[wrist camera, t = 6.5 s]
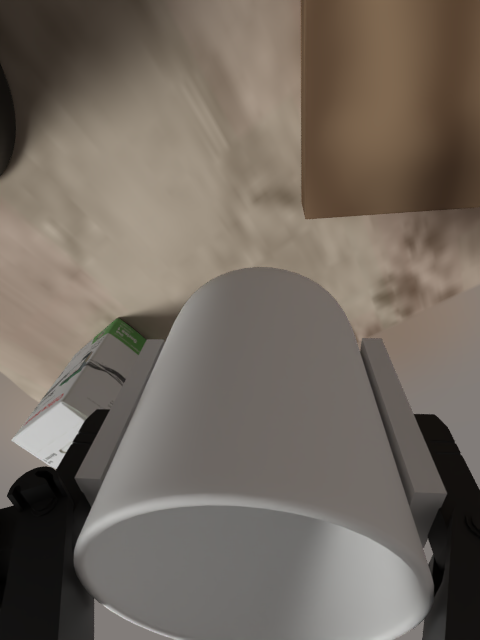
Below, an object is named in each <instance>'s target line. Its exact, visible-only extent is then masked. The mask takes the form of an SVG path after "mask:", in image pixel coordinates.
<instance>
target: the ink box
mask: <svg viewBox="0 0 480 640" xmlns="http://www.w3.org/2000/svg"><path fill="white" fill-rule="evenodd" d="M145 342H146V339H145V338H144V337H142V336H141V335H140V334H139V333H138V332H136V331H135V330H134V329H133V328H131V327H130V326H129V325H127V324H126V323H125V322H123V321H122V320H121V319H119V318H117V319H116V320H115V321H113V322H112V323H111V324H110V325H109V326H107V327H106V328H105V329H104V330H103V331H102V332H101V333H99V334H98V335H97V336H96V337H95V338H94V339H92V340H91V341H90V342H89V343H88V344H87V345H85V346H84V347H83V348H82V349H81V350H80V351H79V352H77V353H76V354H75V355H74V357H73V358H72V360H71V361H70V362H69V364H68V365H67V367H66V368H65V369H64V371H63V372H62V373H61V375H60V376H59V377H58V379H57V380H56V381H55V383H54V384H53V385H52V387H51V388H50V389H49V391H48V392H47V393H46V395H45V396H44V397H43V399H42V400H41V402H40V403H39V404H38V406H37V407H36V408H35V410H34V411H33V412H32V414H31V415H30V416H29V418H28V419H27V421H26V422H25V423H24V424H23V426H22V428H21V429H20V430H19V431H18V433H17V434H16V435H15V436H14V438H13V439H12V441H13V442H14V443H16V444H17V445H19V446H20V447H22V448H24V449H25V450H27V451H28V452H30V453H31V454H33V455H34V456H36V457H37V458H38V459H40V460H42V461H43V462H45V463H46V464H48V465H49V466H51V467H53V468H56V469H57V467H58V466H59V464H60V462H61V461H62V459H63V457H64V455H65V454H66V452H67V450H68V449H69V447H70V445H71V444H72V443H73V440H74V438H75V437H76V435H77V434H78V431H79V430H80V428H81V426H82V425H83V423H84V421H85V420H86V419H87V418H88V417H89V416H90V415H91V414H92V413H93V412H94V411H95V410H96V409H111V407H112V405H113V403H114V401H115V399H116V397H117V396H118V394H119V392H120V390H121V388H122V386H123V384H124V382H125V380H126V378H127V376H128V375H129V373H130V371H131V369H132V367H133V365H134V363H135V361H136V359H137V357H138V355H139V354H140V352H141V350H142V348H143V346H144V344H145Z"/></svg>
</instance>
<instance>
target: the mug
mask: <svg viewBox="0 0 480 640" xmlns="http://www.w3.org/2000/svg"><path fill="white" fill-rule="evenodd" d="M74 568H75V571H76V575H77V577H78V578H79V580H80V582H81V584H82V585H83V586H84V588H85V589H86V590H87V591H88V592H89V594H90V595H92V596H93V597H94V598H95V599H96V600H97V601H98V602H99V603H101V604H102V605H103V606H105V607H106V608H108V609H109V610H110V611H112V612H114V613H115V614H117V615H119V616H120V617H122V618H124V619H126V620H128V621H130V622H132V623H134V624H136V625H138V626H140V627H143V628H145V629H147V630H150V631H153V632H155V633H158V634H160V635H163V636H166V637H169V638H172V639H176V640H394V639H396V638H398V637H401V636H402V635H404V634H406V633H408V632H409V631H411V630H412V629H414V628H415V627H416V626H417V625H418V624H420V623H421V622H422V621H423V620H424V619H425V617H426V616H427V615H428V613H429V612H430V610H431V607H432V604H433V601H434V583H433V579H432V576H431V572H430V569H429V566H428V563H427V560H426V557H425V554H424V550H423V547H422V544H421V541H420V538H419V535H418V532H417V529H416V525H415V522H414V519H413V516H412V513H411V510H410V507H409V504H408V500H407V497H406V494H405V491H404V488H403V485H402V482H401V479H400V475H399V472H398V469H397V466H396V463H395V460H394V457H393V454H392V451H391V447H390V444H389V441H388V438H387V435H386V432H385V429H384V426H383V422H382V419H381V416H380V413H379V410H378V407H377V404H376V401H375V397H374V394H373V391H372V388H371V385H370V382H369V379H368V376H367V372H366V369H365V366H364V363H363V360H362V357H361V354H360V351H359V348H358V344H357V341H356V338H355V335H354V332H353V329H352V327H351V325H350V323H349V320H348V318H347V316H346V314H345V312H344V311H343V309H342V308H341V307H340V305H339V304H338V302H337V301H336V300H335V299H334V298H333V296H332V295H331V294H330V293H329V292H328V291H326V290H325V289H324V288H323V287H321V286H320V285H319V284H317V283H316V282H314V281H312V280H311V279H309V278H307V277H304V276H302V275H300V274H297V273H294V272H291V271H287V270H283V269H277V268H269V267H253V268H244V269H239V270H234V271H231V272H228V273H225V274H222V275H220V276H218V277H216V278H214V279H212V280H210V281H209V282H207V283H206V284H204V285H203V286H201V287H200V288H199V289H198V290H197V291H196V292H195V293H194V294H193V295H192V296H191V297H190V298H189V300H188V301H187V302H186V303H185V305H184V306H183V308H182V309H181V311H180V313H179V315H178V316H177V318H176V320H175V322H174V324H173V326H172V328H171V331H170V333H169V335H168V337H167V339H166V342H165V344H164V346H163V348H162V351H161V353H160V355H159V357H158V360H157V362H156V364H155V366H154V369H153V371H152V373H151V375H150V378H149V380H148V382H147V384H146V387H145V389H144V391H143V393H142V396H141V398H140V400H139V402H138V405H137V407H136V409H135V411H134V414H133V416H132V418H131V420H130V423H129V425H128V427H127V429H126V432H125V434H124V436H123V438H122V441H121V443H120V445H119V447H118V450H117V452H116V454H115V456H114V458H113V461H112V463H111V465H110V467H109V470H108V472H107V474H106V476H105V479H104V481H103V483H102V485H101V488H100V490H99V492H98V494H97V497H96V499H95V501H94V503H93V506H92V508H91V510H90V512H89V515H88V517H87V519H86V521H85V524H84V526H83V528H82V530H81V533H80V535H79V537H78V539H77V542H76V546H75V549H74Z"/></svg>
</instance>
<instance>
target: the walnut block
mask: <svg viewBox="0 0 480 640" xmlns="http://www.w3.org/2000/svg"><path fill="white" fill-rule="evenodd" d="M301 189H302V206H303V210H304V215H305V219H317V218H332V217H346V216H360V215H375V214H389V213H403V212H417V211H432V210H446V209H460V208H474V207H480V0H301Z"/></svg>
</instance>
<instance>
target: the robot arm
mask: <svg viewBox="0 0 480 640" xmlns="http://www.w3.org/2000/svg"><path fill="white" fill-rule="evenodd" d="M15 130H16V127H15V113H14V107H13V101H12V97H11V93H10V89H9V86H8V83H7V80H6V77H5V75H4V72H3V70H2V67H1V65H0V176H1V174H2V173H3V172H4V170H5V169H6V167H7V165H8V163H9V161H10V158H11V156H12V152H13V148H14V143H15ZM164 344H165V342H164V339H147V340H146V342H145V344H144V346H143V348H142V350H141V352H140V354H139V355H138V357H137V359H136V361H135V363H134V365H133V367H132V369H131V371H130V373H129V375H128V376H127V378H126V380H125V382H124V384H123V386H122V388H121V390H120V392H119V394H118V396H117V397H116V399H115V401H114V403H113V405H112V407H111V409H96V410H95V411H94V412H93V413H92V414H91V415H90V416H89V417H88V418H87V419H86V420H85V421H84V423H83V425H82V426H81V428H80V430H79V431H78V434H77V435H76V437H75V438H74V440H73V443H72V444H71V445H70V447H69V449H68V450H67V452H66V454H65V455H64V457H63V459H62V461H61V462H60V464H59V466H58V467H57V469H56V471H55V470H54V469H53V468H51V467H38V468H35V469H33V470H30V471H28V472H26V473H25V474H24V475H22V476H21V477H20V478H18V479H17V480H16V482H15V483H14V484H13V485H12V486H11V488H10V490H9V492H8V495H7V497H8V498H9V500H10V501H11V502H12V504H13V505H14V506H11V507H7V508H3V509H0V640H94V597H93V596H92V595H90V594H89V592H88V591H87V590H86V589H85V588H84V586H83V585H82V584H81V582H80V580H79V578H78V577H77V575H76V571H75V568H74V549H75V546H76V542H77V539H78V537H79V535H80V533H81V530H82V528H83V526H84V524H85V521H86V519H87V517H88V515H89V512H90V510H91V508H92V506H93V503H94V501H95V499H96V497H97V494H98V492H99V490H100V488H101V485H102V483H103V481H104V479H105V476H106V474H107V472H108V470H109V467H110V465H111V463H112V461H113V458H114V456H115V454H116V452H117V450H118V447H119V445H120V443H121V441H122V438H123V436H124V434H125V432H126V429H127V427H128V425H129V423H130V420H131V418H132V416H133V414H134V411H135V409H136V407H137V405H138V402H139V400H140V398H141V396H142V393H143V391H144V389H145V387H146V384H147V382H148V380H149V378H150V375H151V373H152V371H153V369H154V366H155V364H156V362H157V360H158V357H159V355H160V353H161V351H162V348H163V346H164ZM360 354H361V357H362V360H363V363H364V366H365V369H366V372H367V376H368V379H369V382H370V385H371V388H372V391H373V394H374V397H375V401H376V404H377V407H378V410H379V413H380V416H381V419H382V422H383V426H384V429H385V432H386V435H387V438H388V441H389V444H390V447H391V451H392V454H393V457H394V460H395V463H396V466H397V469H398V472H399V475H400V479H401V482H402V485H403V488H404V491H405V494H406V497H407V500H408V504H409V507H410V510H411V513H412V516H413V519H414V522H415V525H416V529H417V532H418V535H419V538H420V541H421V544H422V547H423V548H424V546H425V544H426V542H427V539H429V542H430V545H431V548H432V551H433V556H432V558H431V560H430V562H429V564H428V566H429V569H430V572H431V576H432V579H433V583H434V601H433V604H432V607H431V610H430V612H429V613H428V615H427V616H426V617H425V619H424V629H423V638H422V640H480V490H479V488H478V486H477V484H476V482H475V480H474V478H473V476H472V474H471V472H470V470H469V468H468V466H467V464H466V462H465V460H464V458H463V457H462V455H461V454H460V451H459V449H458V447H457V445H456V444H455V441H454V439H453V437H452V435H451V433H450V431H449V429H448V427H447V426H446V425H445V424H444V423H443V422H442V421H441V420H440V419H439V418H438V417H437V416H436V415H433V414H431V415H430V414H413V412H412V409H411V407H410V405H409V402H408V400H407V397H406V395H405V393H404V391H403V388H402V386H401V383H400V381H399V379H398V376H397V374H396V371H395V369H394V367H393V364H392V362H391V360H390V357H389V355H388V353H387V350H386V348H385V345H384V343H383V341H382V339H381V338H376V339H375V338H362V343H361V351H360Z"/></svg>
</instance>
